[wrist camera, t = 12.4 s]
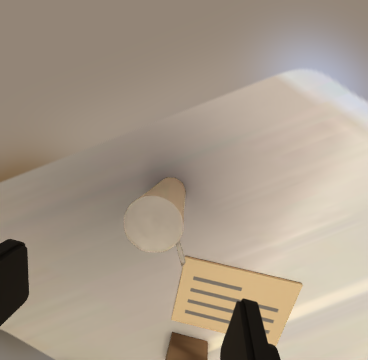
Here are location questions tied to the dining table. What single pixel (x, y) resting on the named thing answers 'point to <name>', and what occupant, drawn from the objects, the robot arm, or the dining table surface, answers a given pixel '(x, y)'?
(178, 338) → the walnut block
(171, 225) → the milkshake
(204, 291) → the letter
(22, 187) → the dining table surface
